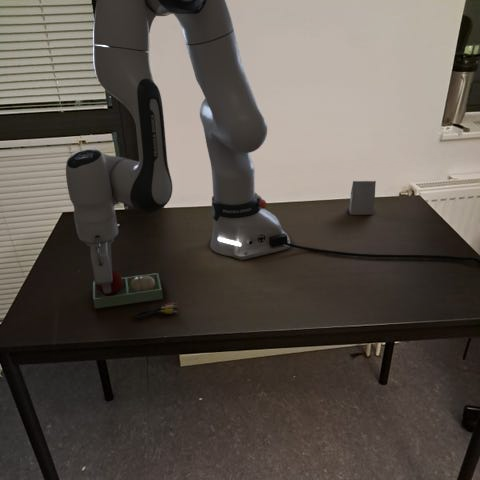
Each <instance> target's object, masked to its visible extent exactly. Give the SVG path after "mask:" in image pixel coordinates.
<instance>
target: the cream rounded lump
mask: <svg viewBox="0 0 480 480" xmlns="http://www.w3.org/2000/svg"><path fill="white" fill-rule="evenodd" d="M138 276H139V275H138ZM155 287H156V282H155V280H154V278H152V277H151V276H139V277H136V278H134V279H133V280H132V281H131V289H132V291H133V292H142V291H149V290H154V289H155Z"/></svg>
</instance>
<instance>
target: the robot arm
mask: <svg viewBox="0 0 480 480" xmlns="http://www.w3.org/2000/svg"><path fill="white" fill-rule="evenodd" d="M95 3H96V4H95V8H94V9H95V10H94V19H93V34H92V35H93V36H92V45H93V46H92V48H93V49H92V50H93V51H92V56H93V59H92V61H93V68H94V72H95V73H94V74H95V77H96V79H97V80H98V82H99V84H100V85H101V87H102V88H103V89H104V91H106V92H107V93H108V94H109V95H111V96H112V97H114V98H115V99H116V100H117V101H119V102H120V103H121V104H122V105H123V106H124V107H125V108H126V109H127V110H128V111H129V113H130V114H131V116H132V118H133V120H134V125H135V129H136V140H137V141H136V142H137V150H138V151H137V152H138V159H139V160H134V159H131V158H126V157H122V156H118V155H109V154H106V153H103V152H102V151H100V150H98V149H95V148H88V149H83V150H79V151H76V152H74V153H73V154H71V155H70V156H69V157H68V158H67V160H66V164H65V178H66V179H65V180H66V186H67V191H68V195H69V196H68V197H69V199H70V200H69V201H70V202H71V204H72V206H73V219H74V224H75V228H76V234H77V237H78V239H79V240H80V241H81V242H83V243H85V246H88V247H90V261H91V266H92V273H93V277H94V282H96V284H97V285H102V288H103V292H104V293H111V284H110V283H112V280H113V278H112V271H113V261H112V259H113V258H112V243H113V242H114V241H115V238H116V237H117V236H118V235H119V226H118V225H117V224H118V221H117V214H116V208H115V206H116V204H119V203H121V204H122V205H126V206H130V207H133V208H135V209H137V210H139V211H142V212H144V213H146V214H155V213H157V212H159V211H160V210H162V209H163V208H164V207H165V206H166V205H167V204H168V203H170V200H171V198H172V195H173V180H172V176H171V173H170V168H169V162H168V154H167V153H168V152H167V141H166V129H165V128H166V127H165V118H164V107H163V100H162V95H161V92H160V89H159V87H158V86H157V84H156V83H155V81H154V78H153V74H152V70H151V62H150V32H151V28H152V25H153V22H154V20H155V18H156V17H166V16H167V17H168V16H170V15H174V16H175V17H176V19H177V21H178V22H179V24H180V26H181V30H182V34H183V39H184V43H185V45H186V49H187V52H188V55H189V59H190V64H191V67H192V70H193V73H194V77H195V80H196V82H197V84H198V85H199V87H200V89H201V92H202V94H203V96H204V100H203V101H202V102H201V105H200V108H199V120H200V121H201V124H202V127H203V131H204V138H205V143H206V149H207V153H208V157H209V162H210V168H211V179H212V180H211V181H212V197H211V215H212V218H213V224H212V225H213V227H212V235H211V240H210V243H209V247H210V249H211V250H212V251H213V252H215V253H216V254H219V255H222V256H225V257H226V256H227V257H232V258H234V259H237V260H240V261H245V260H248V259H249V260H250V259H252V258H257V257H261V256H265V255H270V254H273V253H277V252H282V251H285V250H288V249H289V248H290V247H292V248H294V249H298V250H299V249H300V250H305V251H311V252H318V253H325V254H332V255H341V256H351V257H364V258H397V259H398V258H399V259H400V258H401V259H402V258H403V259H404V258H406V259H407V258H412V259H413V258H414V259H415V258H417V259H418V258H419V259H420V258H423V259H446V260H447V259H449V260H459V261H474V262H477V263H478V264H480V259H479V258H477V257H472V256H454V255H442V254H441V255H440V254H439V255H438V254H437V255H436V254H378V253H377V254H376V253H375V254H374V253H373V254H371V253H359V252H358V253H357V252H346V251H339V250H338V251H337V250H328V249H321V248H313V247H308V246H301V245H297V244H293V243H291V238H290V237H289V234H288V233H287V232H286V231H284V230H283V227H282V225H281V222H280V220H279V219H278V218H277V216H276V215H275V214H273V213H272V212H270V211H269V210H267V209H266V208H267V207H268V203H267V202H266V200H265V199H263V198H262V197H261V196H260V195H259V194H258V193H257V192H255V191H256V190H255V188H256V187H255V183H256V181H255V180H256V179H255V177H256V176H255V175H256V174H255V165H254V162H253V160H252V157H251V153H253V152H255V151H257V150H259V149H260V148H261V147H262V145H264V143H265V141H266V139H267V136H268V124H267V121H266V118H265V117H264V115H263V114H262V112H261V110H260V108H259V105H258V103H257V100H256V97H255V95H254V92H253V90H252V86H251V84H250V82H249V80H248V77H247V75H246V72H245V69H244V66H243V62H242V59H241V54H240V50H239V46H238V41H237V36H236V33H235V27H234V24H233V20H232V17H231V14H230V10H229V7H228V4H227V2H226V0H96V2H95ZM471 341H472V338H469V337H468V338H467V341H466V345H465V348H464V351H463V356H462V360H463V361H465V360H466V358H467V354H468V350H469V348H470V344H471Z"/></svg>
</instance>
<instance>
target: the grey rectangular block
mask: <svg viewBox="0 0 480 480" xmlns="http://www.w3.org/2000/svg"><path fill="white" fill-rule="evenodd" d="M376 181H377V180H353V181H352V184H351V191H350V198H349V207H348V211H349V214H350V215H352V216H353V215H357V216H359V215H360V216H361V215H363V216H364V215H365V216H366V215H369V216H372V215H373V214H374V207H375V200H376V184H377V183H376Z"/></svg>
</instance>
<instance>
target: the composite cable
mask: <svg viewBox="0 0 480 480" xmlns="http://www.w3.org/2000/svg"><path fill="white" fill-rule="evenodd" d="M178 308H179V305H178V302H167V303H164V304H162V305H160V306H158V307H156V308H154V309H149V310H143V311H138V312H137V313H136V314H135V315H134V316H135V319H136V320H142V319H146V318H148V317H150V316H154V315H159V316H160V315H161V316H165V315H166V316H167V315H173V314H177V313H178V310H175V309H178Z"/></svg>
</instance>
